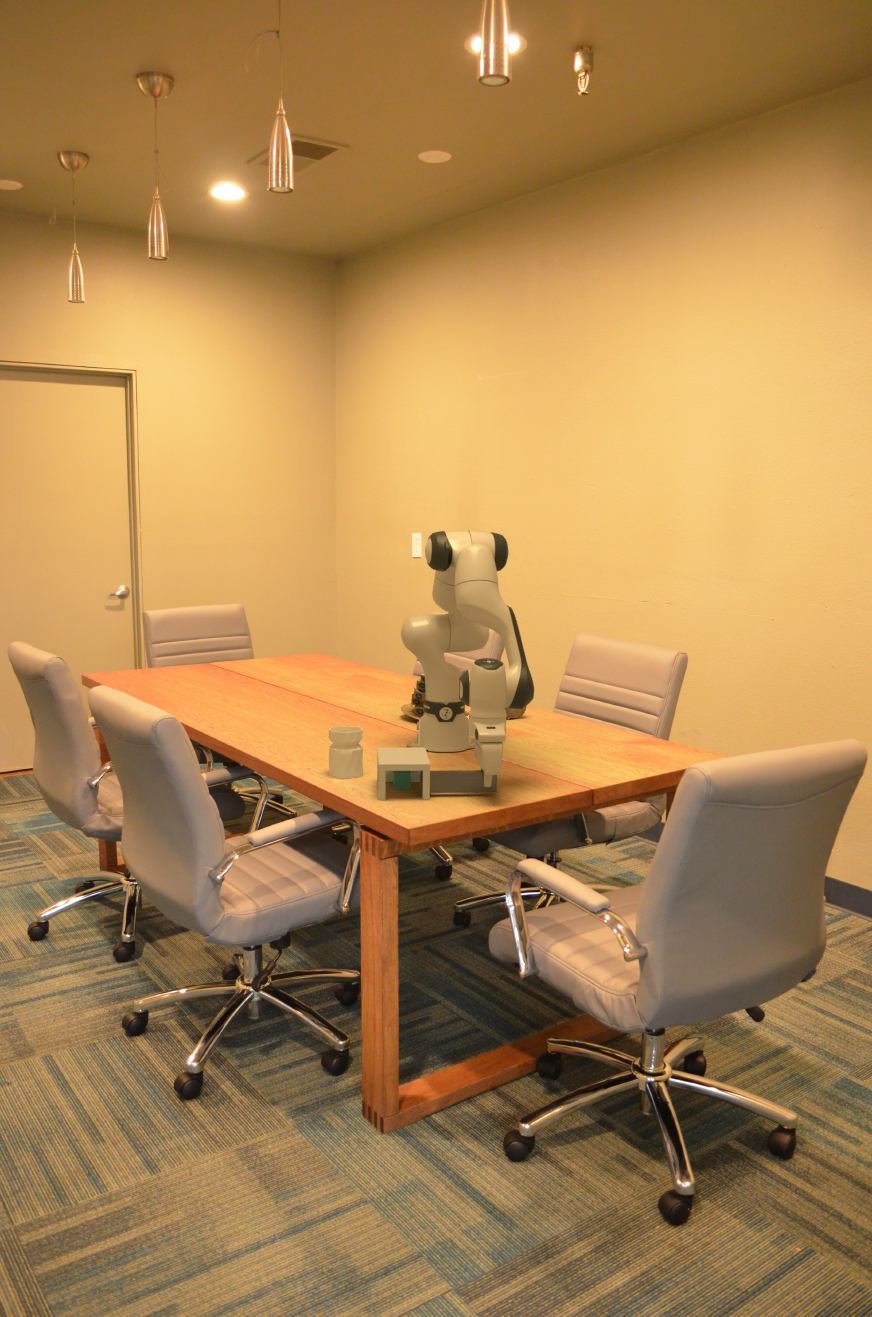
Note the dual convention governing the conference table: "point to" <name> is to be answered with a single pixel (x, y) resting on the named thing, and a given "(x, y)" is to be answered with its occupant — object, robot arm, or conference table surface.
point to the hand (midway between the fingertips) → (486, 784)
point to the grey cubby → (402, 767)
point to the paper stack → (418, 700)
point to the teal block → (402, 779)
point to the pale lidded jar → (345, 752)
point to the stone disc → (514, 712)
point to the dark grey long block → (459, 782)
